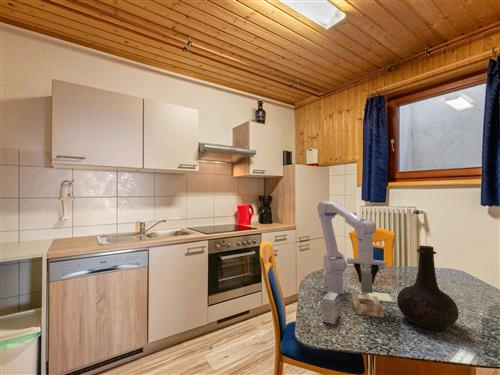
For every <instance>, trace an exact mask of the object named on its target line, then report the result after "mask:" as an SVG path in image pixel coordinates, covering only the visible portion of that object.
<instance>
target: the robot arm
mask: <svg viewBox="0 0 500 375" xmlns="http://www.w3.org/2000/svg"><path fill="white" fill-rule="evenodd" d="M317 214H318V217H319V219H320V224H321V229H322V233H323V239H324V244H325V249H326V254H325V255H324V256H323V268H324V271H322V272H323V274H322V275H323V278H322V279H323V283H322V287H323V292H324V293H328V292H333V293H338V294H339V295H340V294H341V295H344V294H345V287H344V273H345V271H346V270H347V266H348V265H353V267H354V269H355V272H356V273H357V276H358V282H359V284H360V283H361V270H362V267H361V266H370V271H371V272H372V285H374V283H375V278H376V276H377V274H378V272H379V270H380V267H383V268H386V264H387V262H386V261H385V260H377V259H374V239H373V238H374V234H375V233H376V230H377V226H376V224H375V222H374V221H373V220H372V219H371V220H370V219H368V220H367V219H365V218H364V217H362V216H361V215H359V214H358V213H357V212H356V211H349V210H347V208H345V207H344V206H343V205H342V203H341V202H339V201H338V200H331V201H330V200H329V201H326V200H325V201H323V200H321V201H319V202H318V205H317ZM337 215H338V216H340V217H342V218H344V220H345V222H346V224H348V225H350V226H351V228H354V232H355V234H356V238H357V257H358V258H348V257H347V258H346V259H345V257H344V254H343V253H341V252H340V251H339V248H338V244H337V240H336V239H337V238H336V236H335V231H334V228H333V222H332V220H333V219H334V218H335V217H336V216H337Z"/></svg>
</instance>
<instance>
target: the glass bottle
mask: <svg viewBox="0 0 500 375" xmlns="http://www.w3.org/2000/svg"><path fill="white" fill-rule="evenodd" d="M434 249H435V248H434V246H430V245H418V249H416V252H417V253H418V268H417V274H416V278H415V281H414V284H413V285H409V286H405V287H404V288H402V289H401V290H400V291H399V293H398V294H397V298H396V302H397V306H398V308H399V311H400V312H401V313H402V315H403V316H404V317H405V318H406V319H407V320H409V322H412V323H413V324H415V325H417V326H419V327H421V328H424V329H427V330H432V331H443V330H446V329H448V328H450V327H452V326H453V325H454V324H455V323H456V322H457V320H458V319H459V315H460V314H459V308H458V306H457V303H456V302H455V300H454V299H453V298H452V297H451V296H450V295H448V294H447V293H446V292H444V291H442V290H441V289H440V288H439V285H438V281H437V277H436V276H437V274H436V268H435V257H434V255H436V254H437V252H436V251H434Z"/></svg>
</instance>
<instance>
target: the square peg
mask: <svg viewBox="0 0 500 375" xmlns="http://www.w3.org/2000/svg"><path fill="white" fill-rule="evenodd" d="M359 284H360V291H361V293H364V294H366V293H367V294H368V293H372V292H373V284H372V272H371V270H369V269H368V270H367V269H361V283H359Z"/></svg>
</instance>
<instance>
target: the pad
mask: <svg viewBox="0 0 500 375" xmlns="http://www.w3.org/2000/svg"><path fill="white" fill-rule="evenodd" d="M367 296H375V297H377V298H378V300H379V302H380V303H381V302H382V303H388V304H390V303H391V304H393V303H394V301H393V299H392V297H391V296H390V294H389V293H386V292H385V293H383V292H375V291H372V293H367Z"/></svg>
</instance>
